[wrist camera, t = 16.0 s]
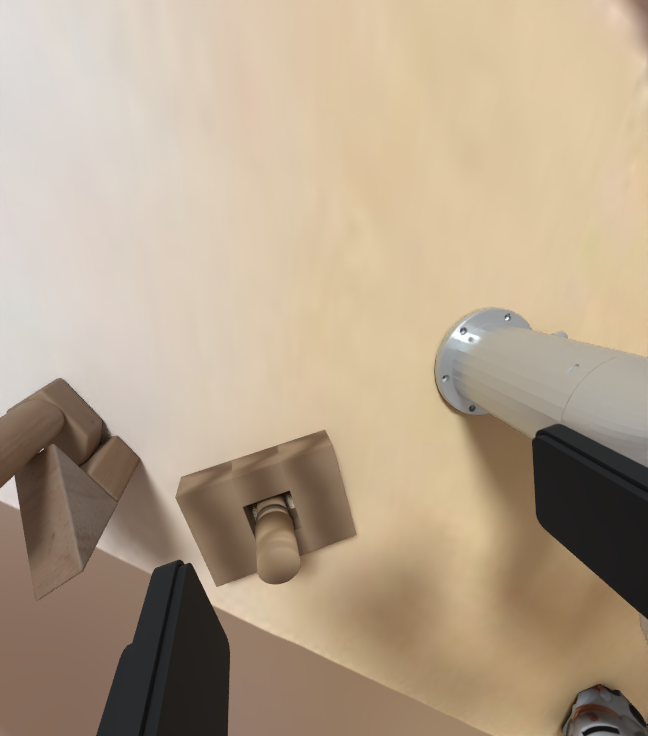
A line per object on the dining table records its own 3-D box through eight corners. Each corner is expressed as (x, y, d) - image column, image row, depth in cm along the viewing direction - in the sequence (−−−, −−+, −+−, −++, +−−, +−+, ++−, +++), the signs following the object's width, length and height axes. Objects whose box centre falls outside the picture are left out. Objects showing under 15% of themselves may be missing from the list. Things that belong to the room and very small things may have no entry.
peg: (281, 477, 40) (294, 542, 31) (290, 504, 42) (305, 574, 32) (249, 488, 40) (251, 558, 31) (258, 515, 41) (264, 590, 32)
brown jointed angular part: (111, 478, 36) (-2, 666, 19) (27, 397, 33) (-203, 542, 16) (142, 458, 36) (57, 627, 20) (62, 375, 33) (-129, 496, 16)
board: (324, 429, 40) (332, 444, 37) (347, 514, 44) (356, 534, 41) (181, 477, 38) (175, 497, 35) (218, 561, 42) (216, 587, 38)
